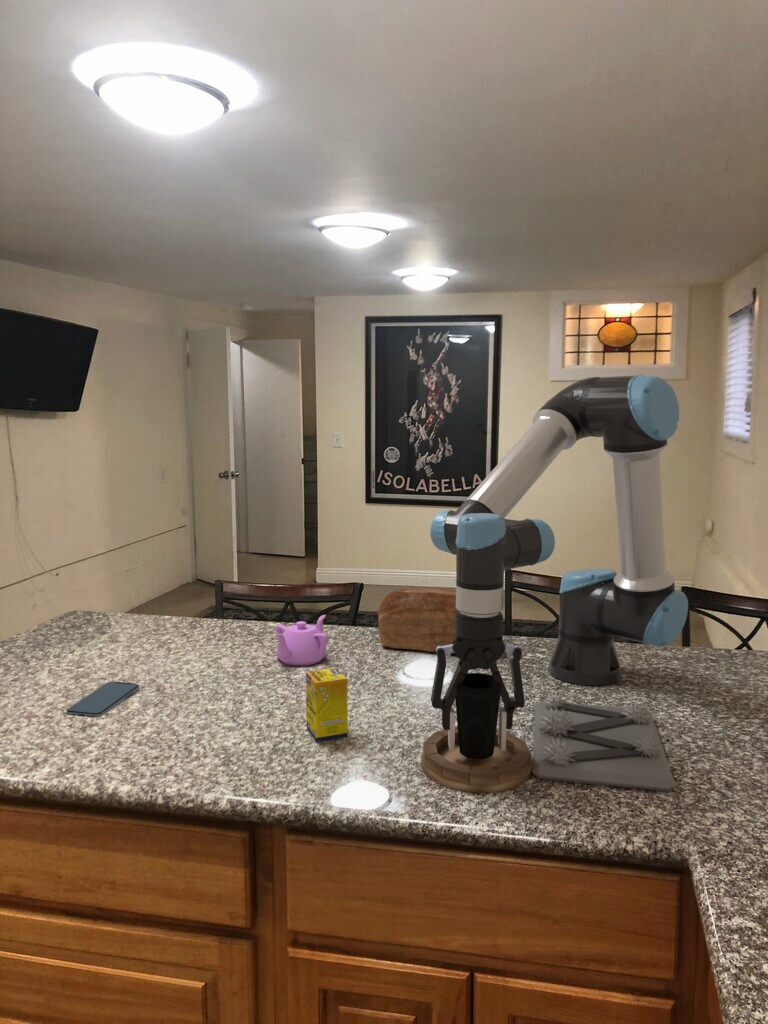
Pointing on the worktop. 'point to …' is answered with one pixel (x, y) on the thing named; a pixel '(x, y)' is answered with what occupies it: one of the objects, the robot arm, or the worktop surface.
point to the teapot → (301, 643)
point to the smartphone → (103, 699)
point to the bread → (418, 618)
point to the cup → (477, 715)
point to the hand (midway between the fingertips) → (476, 747)
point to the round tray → (476, 765)
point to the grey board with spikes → (599, 746)
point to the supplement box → (326, 704)
